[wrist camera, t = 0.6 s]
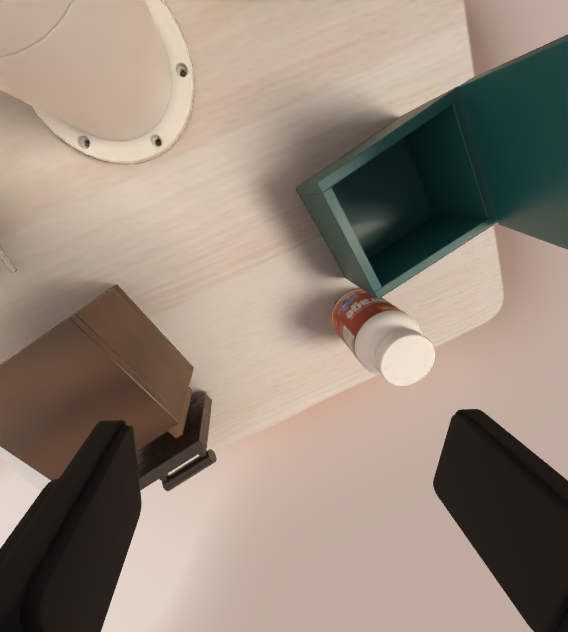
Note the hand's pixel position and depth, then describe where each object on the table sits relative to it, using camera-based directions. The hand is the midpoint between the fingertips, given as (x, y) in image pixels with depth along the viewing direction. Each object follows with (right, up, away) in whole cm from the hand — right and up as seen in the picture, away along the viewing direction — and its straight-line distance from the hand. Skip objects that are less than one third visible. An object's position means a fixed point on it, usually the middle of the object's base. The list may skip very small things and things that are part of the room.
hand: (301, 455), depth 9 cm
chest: (+8, +15, +21) cm, 27 cm away
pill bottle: (+8, +4, +26) cm, 27 cm away
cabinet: (-18, 0, +23) cm, 29 cm away
